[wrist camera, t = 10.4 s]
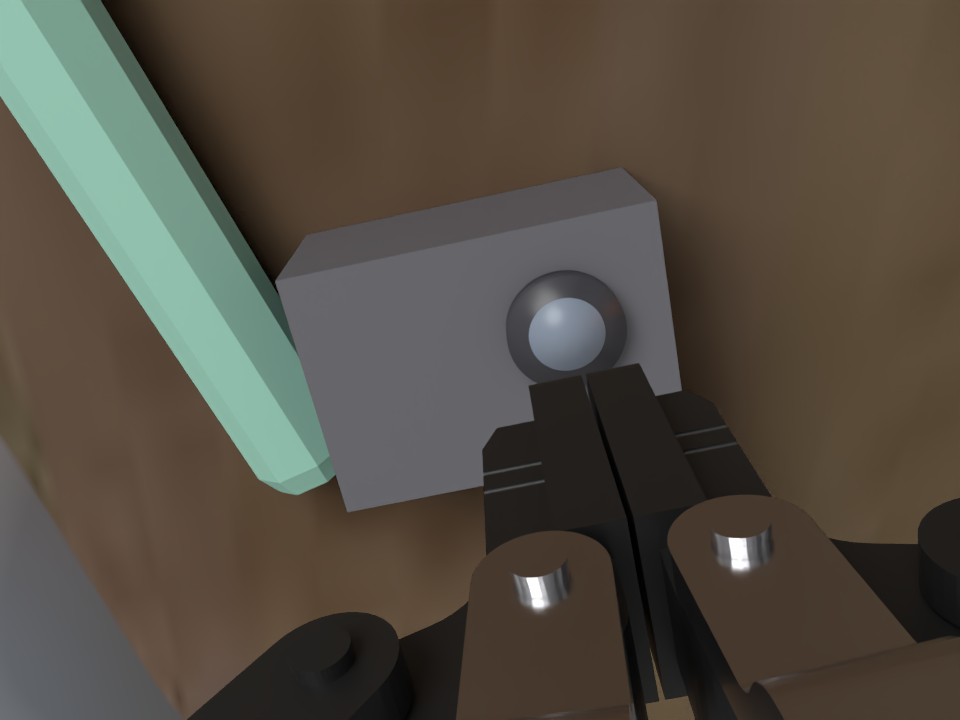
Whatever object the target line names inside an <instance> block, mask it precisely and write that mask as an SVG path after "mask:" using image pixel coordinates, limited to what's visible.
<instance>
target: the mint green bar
mask: <svg viewBox="0 0 960 720" xmlns="http://www.w3.org/2000/svg"><path fill="white" fill-rule="evenodd" d="M0 96H1V98H2V99H3V101H4V102H5V104H6V105H7V107H8V108H9V110H10V111H11V112H12V114H13V115H14V117H15V118H16V120H17V121H18V123H19V124H20V126H21V127H22V129H23V130H24V132H25V133H26V135H27V136H28V138H29V139H30V141H31V142H32V144H33V145H34V147H35V148H36V150H37V151H38V153H39V154H40V155H41V157H42V158H43V160H44V161H45V163H46V164H47V166H48V167H49V169H50V170H51V172H52V173H53V175H54V176H55V178H56V179H57V181H58V182H59V184H60V185H61V187H62V188H63V190H64V191H65V193H66V194H67V196H68V197H69V199H70V200H71V201H72V203H73V204H74V206H75V207H76V209H77V210H78V212H79V213H80V215H81V216H82V218H83V219H84V221H85V222H86V224H87V225H88V227H89V228H90V230H91V231H92V233H93V234H94V236H95V237H96V239H97V240H98V242H99V243H100V244H101V246H102V247H103V249H104V250H105V252H106V253H107V255H108V256H109V258H110V259H111V261H112V262H113V264H114V265H115V267H116V268H117V270H118V271H119V273H120V274H121V276H122V277H123V279H124V280H125V282H126V283H127V285H128V286H129V288H130V289H131V290H132V292H133V293H134V295H135V296H136V298H137V299H138V301H139V302H140V304H141V305H142V307H143V308H144V310H145V311H146V313H147V314H148V316H149V317H150V319H151V320H152V322H153V323H154V325H155V326H156V328H157V329H158V331H159V332H160V333H161V335H162V336H163V338H164V339H165V341H166V342H167V344H168V345H169V347H170V348H171V350H172V351H173V353H174V354H175V356H176V357H177V359H178V360H179V362H180V363H181V365H182V366H183V368H184V369H185V371H186V372H187V374H188V375H189V377H190V378H191V379H192V381H193V382H194V384H195V385H196V387H197V388H198V390H199V391H200V393H201V394H202V396H203V397H204V399H205V400H206V402H207V403H208V405H209V406H210V408H211V409H212V411H213V412H214V414H215V415H216V417H217V418H218V420H219V421H220V422H221V424H222V425H223V427H224V428H225V430H226V431H227V433H228V434H229V436H230V437H231V439H232V440H233V442H234V443H235V445H236V446H237V448H238V449H239V451H240V452H241V454H242V455H243V457H244V458H245V460H246V461H247V463H248V464H249V466H250V467H251V468H252V470H253V471H254V473H255V474H256V476H257V477H258V479H259V480H261V481H263V482H265V483H266V484H268V485H270V486H272V487H273V488H275V489H277V490H279V491H280V492H285V493H289V494H294V495H299V494H301V493H303V492H306V491H308V490H310V489H313V488H315V487H317V486H319V485H322V484H324V483H326V482H328V481H329V480H330V479H331V478H333V477H334V476H335V475H336V474H335V471H334V468H333V465H332V461H331V458H330V455H329V452H328V449H327V445H326V442H325V439H324V436H323V433H322V430H321V426H320V423H319V420H318V417H317V414H316V410H315V407H314V404H313V401H312V398H311V394H310V391H309V388H308V385H307V382H306V378H305V375H304V372H303V369H302V366H301V363H300V359H299V356H298V353H297V350H296V347H295V343H294V340H293V337H292V334H291V331H290V327H289V324H288V321H287V318H286V315H285V312H284V308H283V305H282V302H281V299H280V297H279V295H278V294H277V292H276V290H275V289H274V287H273V285H272V284H271V282H270V280H269V279H268V277H267V276H266V274H265V272H264V271H263V269H262V267H261V266H260V264H259V262H258V261H257V259H256V257H255V256H254V254H253V252H252V251H251V249H250V247H249V246H248V244H247V242H246V241H245V239H244V237H243V236H242V234H241V232H240V231H239V229H238V227H237V226H236V224H235V222H234V221H233V219H232V217H231V216H230V214H229V212H228V211H227V209H226V208H225V206H224V204H223V203H222V201H221V199H220V198H219V196H218V194H217V193H216V191H215V189H214V188H213V186H212V184H211V183H210V181H209V179H208V178H207V176H206V174H205V173H204V171H203V169H202V168H201V166H200V164H199V163H198V161H197V159H196V158H195V156H194V154H193V153H192V151H191V149H190V148H189V146H188V144H187V143H186V141H185V139H184V138H183V136H182V135H181V133H180V131H179V130H178V128H177V126H176V125H175V123H174V121H173V120H172V118H171V116H170V115H169V113H168V111H167V110H166V108H165V106H164V105H163V103H162V101H161V100H160V98H159V96H158V95H157V93H156V91H155V90H154V88H153V86H152V85H151V83H150V81H149V80H148V78H147V76H146V75H145V73H144V71H143V70H142V68H141V67H140V65H139V63H138V62H137V60H136V58H135V57H134V55H133V53H132V52H131V50H130V48H129V47H128V45H127V43H126V42H125V40H124V38H123V37H122V35H121V33H120V32H119V30H118V28H117V27H116V25H115V23H114V22H113V20H112V18H111V17H110V15H109V13H108V12H107V10H106V8H105V7H104V5H103V3H102V2H101V0H0Z"/></svg>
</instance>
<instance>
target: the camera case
mask: <svg viewBox="0 0 960 720" xmlns="http://www.w3.org/2000/svg"><path fill="white" fill-rule="evenodd" d="M275 283H276V286H277V289H278V292H279V296H280V299H281V302H282V305H283V308H284V312H285V315H286V318H287V321H288V324H289V327H290V331H291V334H292V337H293V340H294V343H295V347H296V350H297V353H298V356H299V359H300V363H301V366H302V369H303V372H304V375H305V378H306V382H307V385H308V388H309V391H310V394H311V398H312V401H313V404H314V407H315V410H316V414H317V417H318V420H319V423H320V426H321V430H322V433H323V436H324V439H325V442H326V445H327V449H328V452H329V455H330V458H331V461H332V465H333V468H334V471H335V474H336V477H337V481H338V484H339V487H340V490H341V493H342V496H343V500H344V503H345V506H346V509H347V512H351V511H356V510H361V509H367V508H372V507H377V506H382V505H387V504H392V503H397V502H402V501H408V500H413V499H418V498H423V497H428V496H433V495H438V494H443V493H449V492H454V491H459V490H464V489H469V488H474V487H479V486H484V483H483V476H484V474H483V458H482V449H483V448H484V446H485V445H486V443H487V442H488V440H489V439H490V437H491V436H492V434H493V433H494V432H495V430H496V429H497V428H500V427H505V426H510V425H515V424H520V423H524V422H529V421H534V416H533V410H532V404H531V398H530V392H529V386H528V385H533V384H538V383H543V382H548V381H553V380H558V379H563V378H568V377H573V376H578V375H581V376H582V379H583V382H584V385H585V389H586V392H587V395H588V391H587V385H586V378H585V374H587V373H591V372H596V371H601V370H606V369H611V368H616V367H621V366H626V365H631V364H636V363H639V364H640V365H641V367H642V369H643V371H644V374H645V376H646V378H647V380H648V382H649V384H650V386H651V388H652V390H653V392H654V394H655V396H658V395H663V394H668V393H673V392H678V391H682V388H681V381H680V373H679V366H678V358H677V351H676V343H675V336H674V328H673V321H672V313H671V306H670V298H669V290H668V283H667V275H666V268H665V260H664V253H663V245H662V238H661V230H660V223H659V215H658V208H657V200H656V199H655V198H654V197H653V196H651V195H650V194H649V193H648V192H647V191H646V190H645V189H644V188H643V187H642V186H641V185H640V184H639V183H638V182H637V181H636V180H635V179H634V178H633V177H632V176H630V175H629V174H628V173H627V172H626V171H625V170H624V169H623V168H622V167H621V168H616V169H611V170H607V171H602V172H597V173H593V174H588V175H583V176H579V177H574V178H569V179H565V180H560V181H555V182H551V183H546V184H541V185H537V186H532V187H527V188H523V189H518V190H513V191H509V192H504V193H499V194H495V195H490V196H485V197H481V198H476V199H471V200H467V201H462V202H457V203H453V204H448V205H443V206H439V207H434V208H430V209H425V210H420V211H416V212H411V213H406V214H402V215H397V216H392V217H388V218H383V219H378V220H374V221H369V222H364V223H360V224H355V225H350V226H346V227H341V228H336V229H332V230H327V231H322V232H318V233H313V234H308V235H306V237H305V238H304V239H303V241H302V242H301V244H300V245H299V247H298V248H297V250H296V251H295V253H294V254H293V256H292V257H291V258H290V260H289V261H288V263H287V264H286V266H285V267H284V269H283V270H282V272H281V273H280V275H279V276H278V277H277V279H276V280H275ZM588 398H589V397H588Z"/></svg>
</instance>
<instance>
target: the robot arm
mask: <svg viewBox="0 0 960 720" xmlns="http://www.w3.org/2000/svg"><path fill="white" fill-rule="evenodd" d="M585 378H586V385H587V391H588V395H587V392H586V389H585V385H584V382H583V379H582V376H581V375H578V376H573V377H568V378H563V379H558V380H553V381H548V382H543V383H538V384H533V385H528V386H529V392H530V398H531V404H532V410H533V416H534V421H529V422H524V423H520V424H515V425H510V426H505V427H500V428H497V429H496V430H495V432H494V433H493V434H492V436H491V437H490V439H489V440H488V442H487V443H486V445H485V446H484V448H483V449H482V458H483V474H484V476H483V483H484V493H485V495H484V508H485V532H486V557H484V558H483V559H482V560H481V562H480V563H479V564H478V566H477V567H476V569H475V571H474V573H473V575H472V579H471V583H470V592H469V601H468V602H467V603H466V604H465V605H464V606H463V607H461V608H460V609H459V610H457V611H456V612H455V613H453V614H452V615H450V616H448V617H447V618H445V619H444V620H442V621H440V622H438V623H436V624H433V625H431V626H429V627H427V628H425V629H422V630H420V631H418V632H415V633H413V634H411V635H408V636H406V637H404V638H401V639H398V636H397V633H396V631H395V630H394V628H393V627H392V626H391V625H390V624H389V623H388V622H387V621H385V620H384V619H382V618H380V617H378V616H375V615H372V614H368V613H360V612H345V613H338V614H332V615H329V616H325V617H321V618H318V619H316V620H313V621H311V622H308V623H306V624H304V625H302V626H300V627H298V628H296V629H295V630H293V631H291V632H290V633H288V634H287V635H285V636H284V637H283V638H281V639H280V640H279V641H277V642H276V643H275V644H274V645H273V646H272V647H270V648H269V649H268V650H267V651H266V652H265V653H263V654H262V655H261V656H260V657H259V658H258V659H256V660H255V661H254V662H253V663H252V664H251V665H250V666H248V667H247V668H246V669H245V670H244V671H243V672H241V673H240V674H239V675H238V676H237V677H236V678H234V679H233V680H232V681H231V682H230V683H229V684H228V685H226V686H225V687H224V688H223V689H222V690H221V691H219V692H218V693H217V694H216V695H215V696H214V697H212V698H211V699H210V700H209V701H208V702H207V703H206V704H204V705H203V706H202V707H201V708H200V709H199V710H197V711H196V712H195V713H194V714H193V715H192V716H190V717H189V718H188V719H187V720H648V716H647V710H646V705H645V704H646V703H651V702H657V701H659V697H658V692H657V686H656V680H655V675H654V669H653V663H652V658H651V652H652V656H653V659H654V662H655V666H656V669H657V673H658V676H659V680H660V683H661V686H662V690H663V693H664V697H665V700H666V699H672V698H677V697H683V696H688V698H689V701H690V704H691V707H692V710H693V713H694V716H695V720H960V498H958V499H954V500H951V501H948V502H946V503H943V504H941V505H939V506H937V507H935V508H934V509H932V510H931V511H930V512H929V513H927V514H926V515H925V517H924V518H923V519H922V521H921V523H920V525H919V528H918V544H871V543H854V542H847V541H840V540H835V539H831V538H828V537H827V536H826V534H825V533H824V532H823V531H822V530H821V529H820V527H819V526H818V525H817V524H816V523H815V521H814V520H813V519H812V518H811V517H810V516H809V515H808V514H807V513H806V512H805V511H803V510H802V509H800V508H799V507H797V506H795V505H793V504H791V503H789V502H786V501H783V500H780V499H777V498H772V497H771V495H770V494H769V492H768V490H767V489H766V487H765V486H764V484H763V482H762V481H761V479H760V478H759V476H758V474H757V473H756V471H755V470H754V468H753V467H752V465H751V463H750V462H749V460H748V459H747V457H746V455H745V454H744V452H743V451H742V449H741V447H740V446H739V444H738V445H737V443H736V439H735V438H734V436H733V435H732V433H731V432H730V430H729V428H726V424H725V422H724V420H723V419H722V417H721V416H720V414H719V412H718V411H717V409H716V408H715V406H714V404H713V403H711V402H709V401H707V400H705V399H703V398H701V397H699V396H697V395H695V394H693V393H692V392H690V391H688V390H683V391H678V392H673V393H668V394H663V395H658V396H655V394H654V392H653V390H652V388H651V386H650V384H649V382H648V380H647V378H646V376H645V374H644V371H643V369H642V367H641V365H640V364H639V363H636V364H631V365H626V366H621V367H616V368H611V369H606V370H601V371H596V372H591V373H587V374H585ZM588 397H589V398H588ZM649 645H650V646H649ZM650 649H651V652H650Z"/></svg>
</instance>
